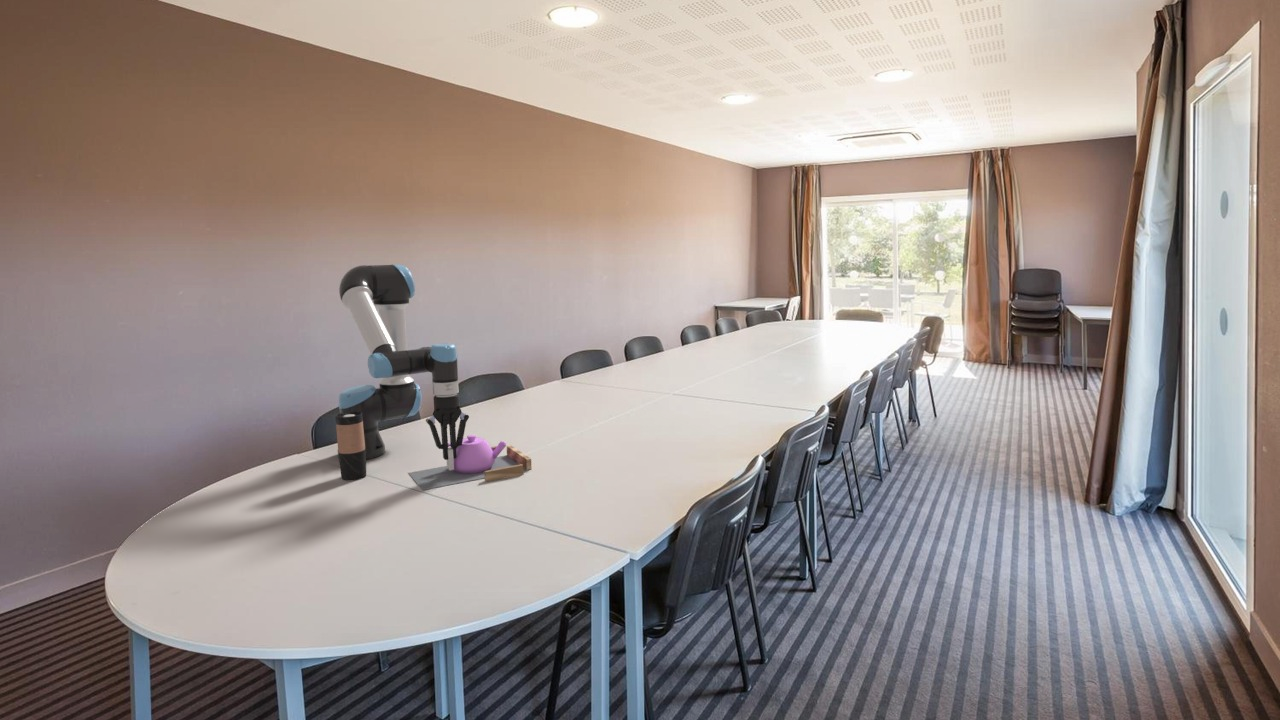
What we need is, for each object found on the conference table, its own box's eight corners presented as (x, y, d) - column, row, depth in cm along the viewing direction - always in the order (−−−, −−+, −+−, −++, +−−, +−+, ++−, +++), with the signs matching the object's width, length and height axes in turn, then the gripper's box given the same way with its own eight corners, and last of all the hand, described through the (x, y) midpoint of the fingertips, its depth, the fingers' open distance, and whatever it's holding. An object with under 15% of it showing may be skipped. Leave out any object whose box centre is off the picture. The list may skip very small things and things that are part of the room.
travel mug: (357, 481, 196) (352, 417, 192) (335, 480, 197) (329, 416, 194) (372, 473, 203) (367, 411, 200) (350, 472, 204) (345, 410, 201)
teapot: (507, 472, 202) (505, 439, 201) (441, 476, 199) (439, 443, 197) (507, 458, 216) (506, 428, 214) (445, 463, 212) (443, 431, 210)
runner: (408, 473, 203) (408, 472, 203) (511, 454, 221) (511, 454, 220) (422, 490, 188) (422, 489, 188) (531, 469, 205) (531, 468, 205)
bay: (462, 460, 215) (461, 450, 214) (507, 452, 223) (507, 442, 223) (486, 481, 194) (485, 470, 194) (535, 472, 203) (535, 461, 202)
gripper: (427, 399, 190) (432, 476, 194) (470, 394, 197) (474, 468, 200) (421, 395, 197) (426, 469, 200) (463, 390, 203) (467, 462, 207)
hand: (450, 468), depth 200 cm, fingers closed
